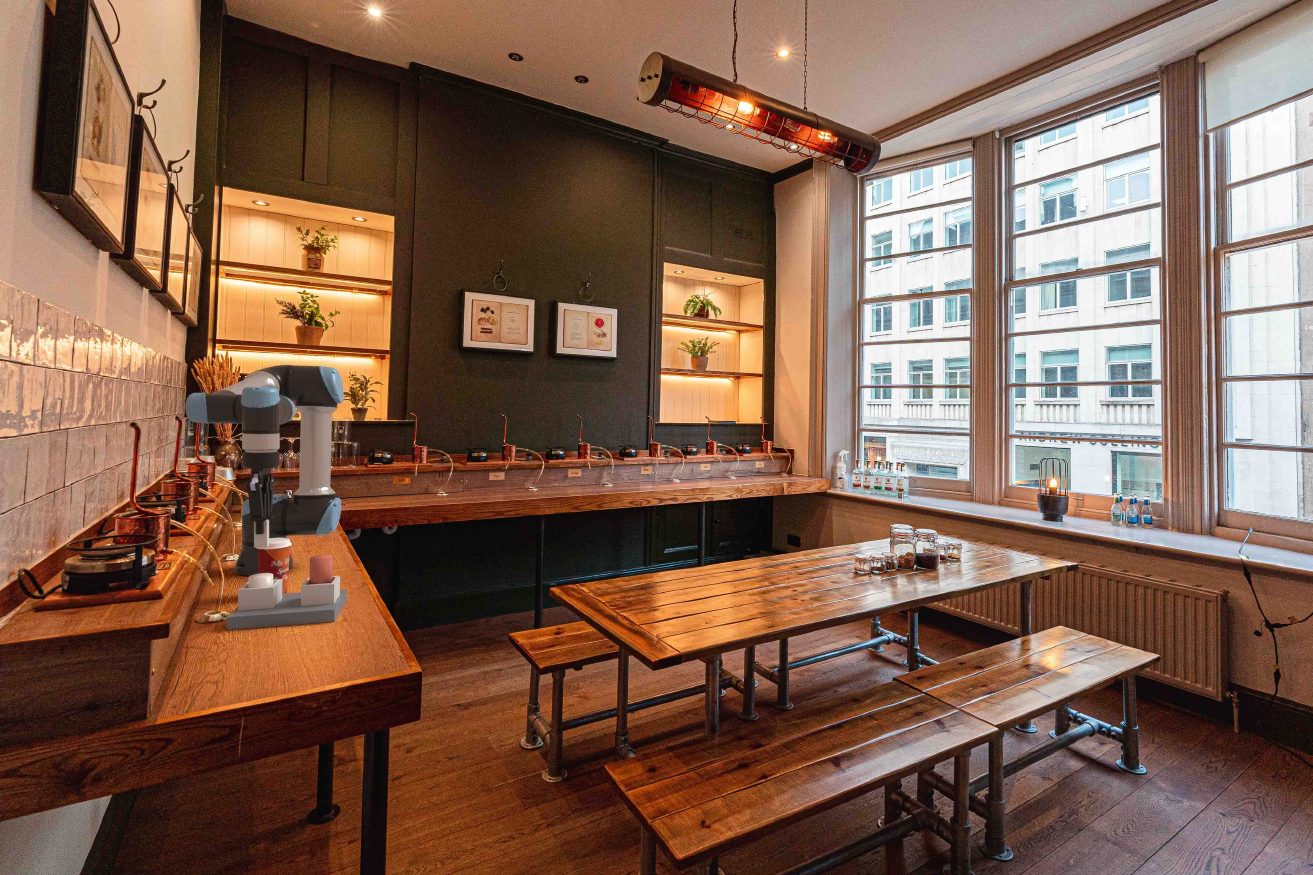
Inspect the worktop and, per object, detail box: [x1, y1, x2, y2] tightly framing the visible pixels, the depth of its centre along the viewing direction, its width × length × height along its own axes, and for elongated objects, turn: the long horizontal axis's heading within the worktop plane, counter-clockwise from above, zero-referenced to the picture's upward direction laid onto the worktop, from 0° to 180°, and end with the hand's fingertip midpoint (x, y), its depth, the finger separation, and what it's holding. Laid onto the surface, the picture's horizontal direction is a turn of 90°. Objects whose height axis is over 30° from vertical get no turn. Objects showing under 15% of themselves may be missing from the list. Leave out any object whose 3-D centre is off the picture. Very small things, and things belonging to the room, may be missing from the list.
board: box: [226, 575, 348, 631], centre depth 143 cm, size 16×22×8 cm
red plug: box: [309, 554, 334, 585], centre depth 145 cm, size 5×5×7 cm
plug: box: [247, 573, 273, 588], centre depth 141 cm, size 5×5×7 cm
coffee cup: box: [256, 537, 293, 594], centre depth 157 cm, size 8×8×15 cm
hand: (261, 546), depth 141 cm, fingers closed
